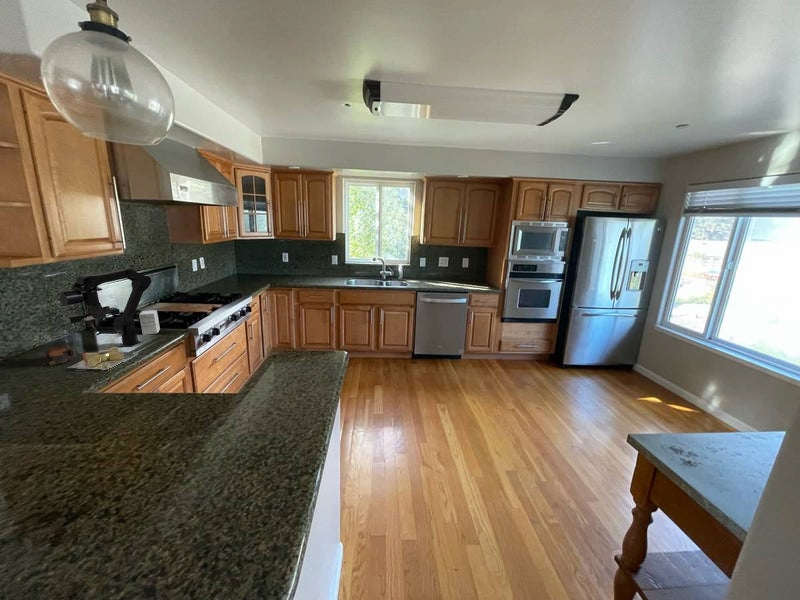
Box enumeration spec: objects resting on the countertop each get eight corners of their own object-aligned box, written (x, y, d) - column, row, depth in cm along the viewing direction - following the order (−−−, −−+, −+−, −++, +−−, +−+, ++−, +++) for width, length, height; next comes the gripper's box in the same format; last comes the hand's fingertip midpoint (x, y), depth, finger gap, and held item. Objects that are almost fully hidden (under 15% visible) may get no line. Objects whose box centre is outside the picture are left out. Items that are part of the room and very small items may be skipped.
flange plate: (101, 353, 165) (101, 350, 164) (138, 354, 165) (137, 351, 164) (66, 370, 147) (65, 366, 147) (107, 371, 147) (106, 367, 147)
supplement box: (145, 330, 197) (142, 310, 194) (160, 329, 200) (157, 309, 197) (142, 334, 191) (138, 314, 188) (157, 333, 194) (154, 313, 191)
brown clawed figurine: (41, 369, 148) (36, 352, 149) (56, 369, 157) (51, 353, 158) (73, 358, 153) (68, 342, 153) (86, 359, 161) (81, 344, 162)
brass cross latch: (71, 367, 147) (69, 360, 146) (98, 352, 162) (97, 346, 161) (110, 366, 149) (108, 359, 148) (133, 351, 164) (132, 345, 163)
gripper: (71, 307, 146) (79, 340, 150) (122, 299, 162) (127, 329, 166) (62, 304, 151) (69, 335, 155) (112, 296, 167) (118, 325, 171)
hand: (97, 331), depth 162 cm, fingers closed
